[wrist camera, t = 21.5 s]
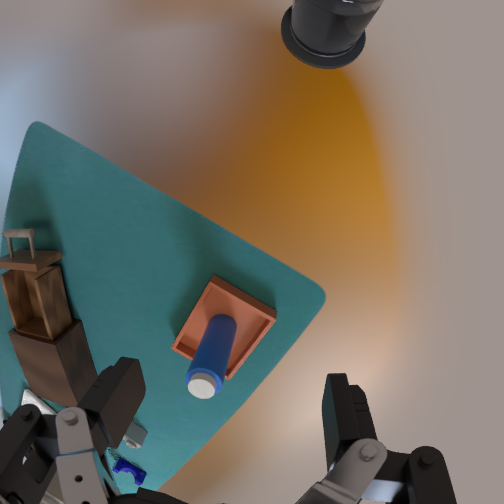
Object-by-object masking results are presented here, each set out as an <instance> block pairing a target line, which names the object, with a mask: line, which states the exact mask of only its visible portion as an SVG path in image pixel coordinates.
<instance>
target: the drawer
mask: <svg viewBox="0 0 504 504" xmlns="http://www.w3.org/2000/svg"><path fill="white" fill-rule="evenodd" d="M4 236H5V237H6V238H7V242H8V247H9V253H10V254H8V255H6V256H4V257H1V258H0V268H3V269H11V270H9V271H7V272H5V273H3V274H1V275H0V276H1V281H2V285H3V289H4V293H5V296H6V300H7V304H8V307H9V310H10V314H11V317H12V320H13V323H14V326H15V330H16V332H18V333H22V334H26V335H29V336H33V337H37V338H40V339H44V340H48V341H52V342H55V341H56V340H57V339H58V338H59V337H60V336H61V335H62V334H63V333H64V332H66V331H67V330H68V329H69V328H70V327H71V326H72V325H73V323H72V319H71V315H70V311H69V307H68V303H67V298H66V294H65V289H64V285H63V280H62V275H61V269H60V266H53V265H50V264H52V263H54V262H56V261H57V260H59V259H61V258H62V252H61V251H50V250H35V245H34V239H33V237H34V236H35V230H34V229H33V228H29V229H6V230H5V231H4ZM11 238H29V243H30V249H31V250H21V249H19V250H16V251H14V252H13V246H12V240H11Z"/></svg>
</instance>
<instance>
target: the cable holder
mask: <svg viewBox="0 0 504 504" xmlns="http://www.w3.org/2000/svg"><path fill="white" fill-rule="evenodd" d="M112 470H113V471H114V472H116V473H118V472H119V471H124V472H131V473H132V474H133V476H134V478H135V482H134V483H136V484H137V485H139V486H140V485H141V484H142V483H143V481H144V478H145V476H146V472H145V471H143V470H141V469H139V468H137V467H136V466H134V465H132V464H130V463H129V462H127V461H125V460H124V459H122V458H120V457H119V458H118V459H117V460H116V462H115V464H114V466H113V469H112Z"/></svg>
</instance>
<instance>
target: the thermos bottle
mask: <svg viewBox="0 0 504 504" xmlns="http://www.w3.org/2000/svg"><path fill="white" fill-rule="evenodd" d="M40 504H64V500H63V496H62V491H61V486H60V481H59V476H58V470H57V471H56V473H55V475H54V477H53V479H52V480H51V482H50V484H49V486H48V488H47V490H46V492H45V494H44V496H43V498H42V500H41V502H40Z"/></svg>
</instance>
